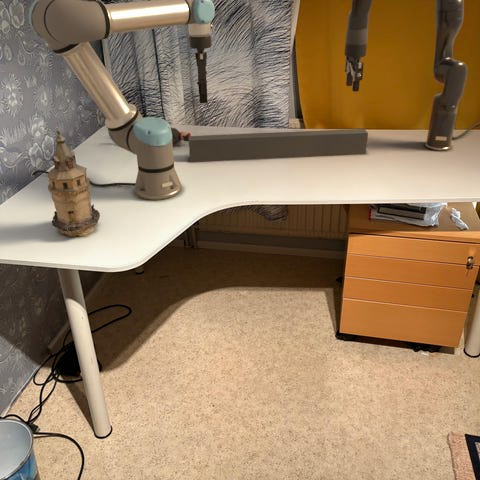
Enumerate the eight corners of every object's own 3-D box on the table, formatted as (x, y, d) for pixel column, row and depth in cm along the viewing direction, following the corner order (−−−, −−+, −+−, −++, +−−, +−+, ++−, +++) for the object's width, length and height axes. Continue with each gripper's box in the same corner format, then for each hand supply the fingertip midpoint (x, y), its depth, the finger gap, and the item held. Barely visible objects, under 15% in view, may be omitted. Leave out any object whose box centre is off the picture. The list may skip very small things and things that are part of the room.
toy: (131, 119, 231) (198, 119, 225) (133, 133, 234) (199, 134, 228) (106, 139, 209) (180, 139, 203) (109, 154, 212) (182, 155, 206)
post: (190, 162, 201) (188, 140, 197) (189, 157, 205) (188, 136, 201) (365, 154, 206) (368, 132, 202) (362, 149, 210) (364, 128, 206)
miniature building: (80, 214, 164) (63, 117, 149) (111, 225, 157) (96, 125, 142) (44, 231, 154) (22, 130, 140) (75, 244, 147) (55, 139, 133)
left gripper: (212, 40, 171) (215, 106, 182) (209, 29, 193) (211, 88, 203) (189, 41, 171) (193, 107, 181) (188, 30, 192) (192, 89, 203)
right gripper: (373, 44, 182) (368, 93, 190) (360, 38, 194) (356, 83, 202) (351, 45, 181) (347, 93, 189) (340, 38, 193) (337, 84, 201)
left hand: (203, 97), depth 192 cm, fingers open, 13 cm apart
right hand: (352, 88), depth 196 cm, fingers open, 8 cm apart
